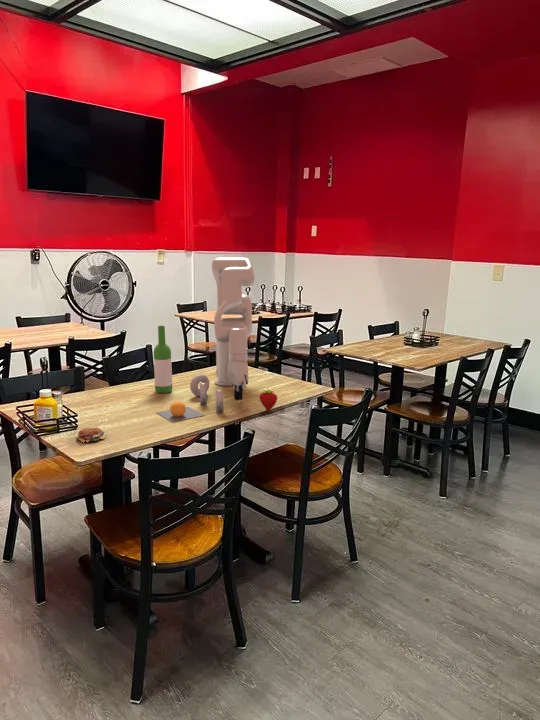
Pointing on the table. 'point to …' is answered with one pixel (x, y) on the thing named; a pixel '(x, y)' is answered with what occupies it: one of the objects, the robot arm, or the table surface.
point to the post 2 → (219, 401)
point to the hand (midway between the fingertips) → (238, 399)
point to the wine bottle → (162, 364)
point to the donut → (195, 382)
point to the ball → (177, 409)
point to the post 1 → (203, 393)
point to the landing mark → (187, 415)
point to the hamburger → (90, 434)
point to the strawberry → (268, 399)
